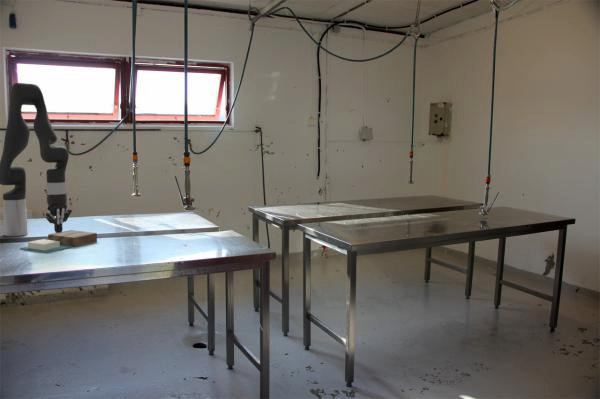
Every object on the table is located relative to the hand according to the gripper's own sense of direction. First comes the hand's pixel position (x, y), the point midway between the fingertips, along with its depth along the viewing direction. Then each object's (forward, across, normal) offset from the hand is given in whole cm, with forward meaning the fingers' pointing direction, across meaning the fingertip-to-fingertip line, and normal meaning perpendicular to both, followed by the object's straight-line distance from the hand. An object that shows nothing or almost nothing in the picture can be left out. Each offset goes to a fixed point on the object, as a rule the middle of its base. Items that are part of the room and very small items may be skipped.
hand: (58, 232), depth 199 cm
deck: (+6, -6, +1) cm, 8 cm away
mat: (+6, +7, +1) cm, 9 cm away
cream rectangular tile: (+2, +8, +1) cm, 8 cm away
